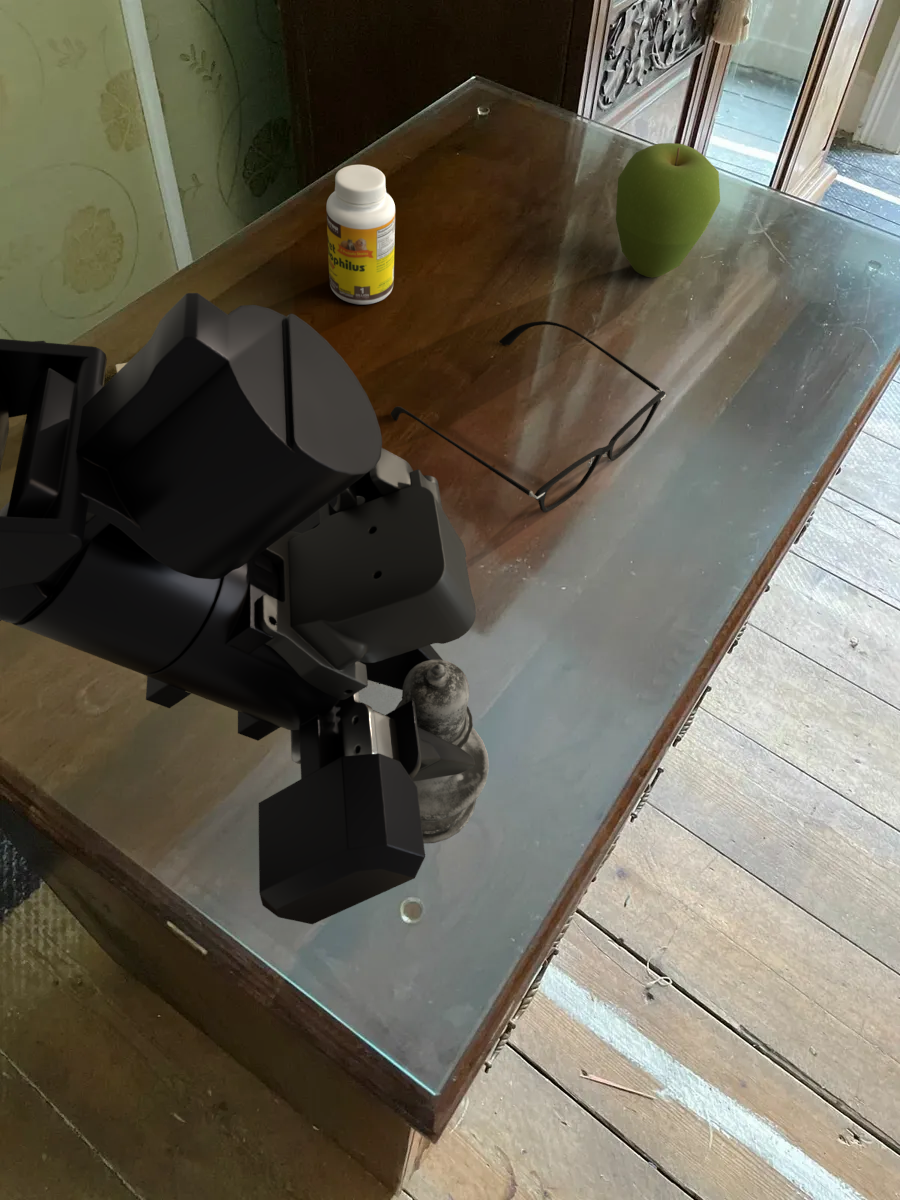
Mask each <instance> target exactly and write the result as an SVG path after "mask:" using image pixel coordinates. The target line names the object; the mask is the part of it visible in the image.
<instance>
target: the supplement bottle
mask: <svg viewBox="0 0 900 1200" xmlns="http://www.w3.org/2000/svg"><path fill="white" fill-rule="evenodd" d="M334 180H335V181H334V182H335V185H334V191H333V192H331V194H330V195H329V196H328V198H327V200H326V206H325V208H326V211H325V212H326V231H327V253H328V255H327V257H328V278H329V286H330V289H331V291H332V292H333V293H334V295H335V296H336V297H337V298H339V299H341V300H342V301H344V302H346V303H350V304H354V305H361V306H363V305H372V304H376V303H379V302H381V301H383V300H385V299H386V298H387V297H388V296H389V295H390V294H391V293H392V291H393V288H394V283H395V281H394V280H395V246H396V245H395V244H396V243H395V240H396V239H395V237H396V205H395V202H394V199H393V198H392V196H391V195H390V194H389V192H387V188H386V187H387V186H386V176H385V174H384V173H383V172H382V171H381V170H380V169H378V168H377V167H374V166H371V165H367V164H351V165H347V166H344V167H342V168H341V169H339V170H338V171H337V172H336V174H335V177H334Z"/></svg>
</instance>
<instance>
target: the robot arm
mask: <svg viewBox="0 0 900 1200" xmlns="http://www.w3.org/2000/svg"><path fill="white" fill-rule="evenodd" d="M126 363H127V364H126V365H125V366H124V367H123V368H122V369H121V370H120V371H119V372H118V373H117V372H116V373H115V374H114V375H113V376H112V377H111V378H110V379H109V380H108V381H107V382H106V383H105V378H106V370H107V364H108V358H107V354H106V353H105V352H104V351H103V350H102V349H101V348H98V347H96V346H90V345H81V344H80V345H78V344H67V343H66V344H65V343H55V342H46V340H35V341H31V340H18V339H8V338H7V339H6V338H0V470H1V468H2V464H3V460H4V459H3V458H4V456H5V450H6V445H7V440H8V435H9V431H10V422H9V421H10V420H9V419H10V418H11V419H12V418H15V417H20V416H26V417H25V422H24V427H23V432H22V438H21V442H20V447H19V453H18V458H17V463H16V467H15V472H14V479H13V482H12V488H11V492H10V498H9V501H8V502H7V503H6V504H5V505H4V506H3V507H2V508H1V509H0V622H1V621H3V622H5V623H9V624H12V625H14V626H17V627H19V628H22V629H24V630H27V631H29V632H32V633H35V634H37V635H40V636H41V637H45V638H47V639H50V640H52V641H55V642H58V643H61V644H63V645H66V646H67V647H71V648H74V649H76V650H78V651H82V652H84V653H87V654H89V655H92V656H94V657H97V658H100V659H102V660H105V661H106V662H110V663H112V664H114V665H117V666H121V667H122V668H125V669H128V670H130V671H132V672H135V673H138V674H141V675H143V676H145V677H147V678H146V691H145V700H146V701H147V702H151V703H154V704H156V705H159V706H163V707H164V708H167V709H171V708H172V707H174V706H175V705H177V704H178V703H180V702H181V701H183V700H185V698H187V697H189V696H190V695H192V694H193V695H194V696H197V697H200V698H203V699H206V700H209V701H211V702H213V703H216V704H218V705H221V706H223V707H227V708H229V709H232V710H234V711H237V734H238V735H242V736H243V737H246V738H250V739H252V740H255V741H257V742H258V741H261V740H262V739H263V738H266V737H267V736H269V735H271V734H272V733H273V732H275V731H277V730H278V729H280V728H281V729H285V730H287V731H290V754H291V755H290V757H291V761H292V763H295V764H298V765H300V779H298V780H297V781H295V782H294V783H291V784H289V785H288V786H286V787H284V788H283V789H281V790H279V791H277V792H275V793H274V794H272V795H270V796H268V797H267V798H264V799H263V800H261V801H259V802H258V893H259V896H260V901H261V905H262V907H264V908H265V909H267V910H268V911H269V912H270V913H272V914H273V915H275V916H276V917H277V918H281V919H285V920H289V921H294V922H300V923H304V924H309V925H314V924H316V923H318V922H321V921H323V920H325V919H328V918H331V917H332V916H334V915H337V914H339V913H341V912H343V911H345V910H347V909H350V908H352V907H354V906H356V905H359V904H360V903H363V902H365V901H367V900H370V899H372V898H374V897H377V896H378V895H381V894H383V893H385V892H387V891H390V890H392V889H394V888H396V887H398V886H399V887H400V886H401V885H404V884H405V883H408V882H410V881H412V880H414V879H416V877H417V875H418V872H419V871H420V869H421V866H422V865H423V862H424V861H425V859H426V851H425V844H424V841H423V833H422V824H421V816H420V807H419V799H418V790H417V786H416V785H415V783H414V781H420V780H426V779H432V778H438V777H444V776H450V775H456V774H460V773H462V772H464V771H466V770H468V769H470V768H472V767H474V766H475V761H474V757H473V756H471V755H470V754H468V753H467V752H466V751H464V750H463V749H461V748H460V747H458V746H456V745H454V744H452V743H450V742H448V741H446V740H444V739H442V738H440V737H438V736H436V735H434V734H431V733H429V732H427V731H425V730H423V729H421V728H419V727H417V720H416V711H415V703H414V701H412V700H411V701H409V702H407V703H405V704H404V705H402V706H400V707H398V708H397V709H395V708H394V710H391V711H390V712H388V713H386V714H384V713H382V712H379V711H377V710H375V709H373V706H370V704H366V703H364V702H361V700H360V691H362V690H364V689H365V688H367V687H368V686H369V684H368V681H370V682H373V683H376V684H380V685H384V686H387V687H389V688H393V689H396V690H399V691H402V690H403V684H404V681H405V678H406V676H407V675H408V673H409V672H410V670H411V669H412V668H414V667H415V666H416V665H418V664H420V663H422V662H424V661H428V660H443V659H444V658H442V657H441V656H440V655H439V653H438V652H437V651H436V650H435V648H434V647H433V646H432V645H435V644H439V645H441V644H442V645H443V644H444V645H445V644H448V643H450V642H453V641H456V640H458V639H461V637H463V636H465V635H466V634H467V633H468V632H469V631H470V630H471V629H472V627H473V625H474V623H475V621H476V617H477V609H476V607H477V606H476V601H475V598H474V596H473V592H472V588H471V582H470V576H469V571H468V565H467V560H466V559H467V551H466V547H465V544H464V542H463V541H462V539H461V537H460V536H459V534H458V532H457V531H456V529H455V527H454V525H453V524H452V523H451V521H450V519H449V518H448V516H447V514H446V513H445V511H444V509H443V504H442V498H441V492H440V487H439V481H438V479H437V478H436V477H435V476H432V475H423V473H422V471H421V469H418V468H417V469H415V470H414V469H413V467H412V466H411V465H410V463H409V462H408V461H407V460H406V459H404V458H402V457H400V456H399V455H396V454H395V453H393V452H391V451H389V450H387V449H386V448H384V447H383V437H382V432H381V431H382V430H381V428H380V424H379V420H378V418H377V414H376V411H375V409H374V407H373V405H372V403H371V401H370V398H369V396H368V393H367V392H366V391H365V389H364V387H363V386H362V384H361V382H360V381H359V379H358V377H357V376H356V374H355V373H354V371H353V370H352V368H350V366H349V365H348V363H347V362H346V361H345V360H344V358H343V357H342V356H341V355H340V353H339V352H338V351H337V350H336V349H335V348H334V347H333V346H332V345H331V344H330V343H329V341H328V340H327V339H326V338H325V337H324V336H323V335H322V334H320V333H319V332H318V331H316V329H315V328H313V327H312V326H311V325H310V324H309V323H307V322H306V321H305V320H303V319H302V318H300V317H299V316H297V314H295V313H289V314H288V315H285V314H282V313H280V312H278V311H276V310H274V309H273V308H269V307H265V306H262V305H257V304H247V305H245V304H244V305H239V306H238V307H236V308H234V309H233V310H231V311H230V312H229V313H226V311H224V310H222V309H220V308H219V307H218V306H217V305H215V304H214V303H213V302H211V301H210V300H208V299H207V298H206V297H204V296H203V295H201V294H200V293H198V292H187V293H185V294H184V295H183V296H182V297H181V298H179V300H178V301H177V302H176V303H175V304H174V305H173V306H172V307H171V308H170V309H169V310H168V311H167V312H166V313H165V314H164V316H163V317H162V318H161V319H160V320H159V322H158V323H157V325H156V328H155V329H154V331H153V334H152V335H151V337H150V339H149V340H148V341H147V342H146V343H145V345H144V346H143V347H142V348H141V349H140V350H139V351H137V352H136V353H135V354H134V356H132V357H131V359H129V360H128V361H127V362H126Z"/></svg>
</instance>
